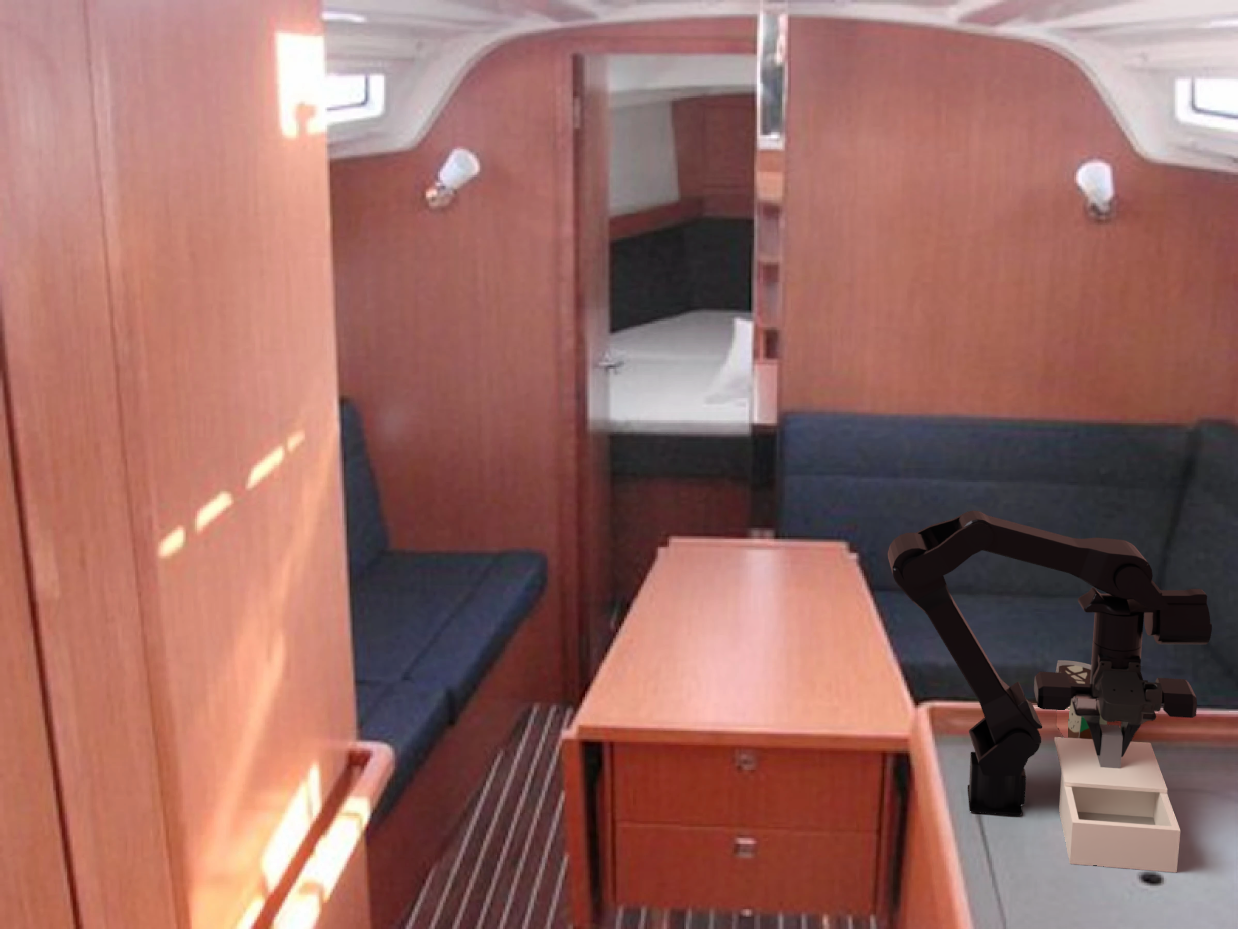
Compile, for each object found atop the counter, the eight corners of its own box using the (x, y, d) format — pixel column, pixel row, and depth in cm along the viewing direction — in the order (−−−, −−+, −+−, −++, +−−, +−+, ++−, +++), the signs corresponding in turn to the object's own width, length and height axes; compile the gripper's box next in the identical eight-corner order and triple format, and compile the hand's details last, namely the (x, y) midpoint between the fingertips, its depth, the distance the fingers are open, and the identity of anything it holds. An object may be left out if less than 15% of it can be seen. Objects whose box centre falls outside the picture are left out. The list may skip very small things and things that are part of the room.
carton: (1069, 863, 156) (1072, 822, 155) (1059, 811, 167) (1061, 772, 166) (1176, 872, 154) (1180, 830, 152) (1158, 818, 165) (1161, 779, 163)
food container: (1125, 761, 179) (1130, 695, 176) (1080, 763, 179) (1084, 696, 176) (1095, 720, 191) (1099, 657, 188) (1052, 721, 191) (1056, 658, 188)
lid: (1064, 785, 162) (1066, 749, 161) (1054, 740, 174) (1056, 706, 172) (1167, 793, 160) (1170, 756, 159) (1150, 746, 171) (1152, 711, 170)
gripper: (1045, 665, 157) (1038, 781, 161) (1211, 673, 153) (1200, 792, 157) (1036, 628, 167) (1030, 738, 171) (1192, 636, 163) (1182, 748, 167)
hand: (1109, 755), depth 166 cm, fingers closed on lid, 2 cm apart
